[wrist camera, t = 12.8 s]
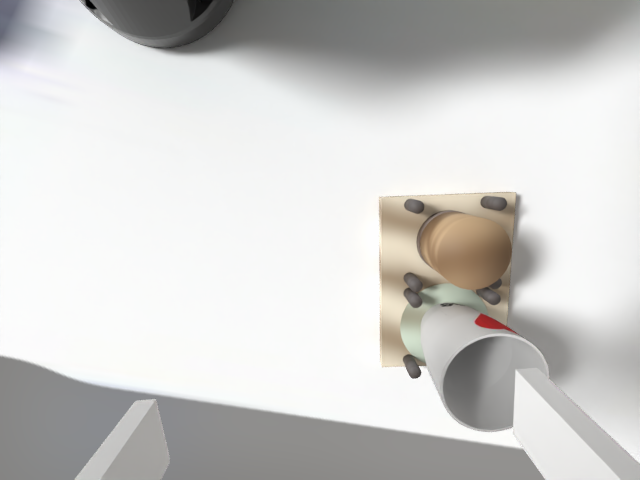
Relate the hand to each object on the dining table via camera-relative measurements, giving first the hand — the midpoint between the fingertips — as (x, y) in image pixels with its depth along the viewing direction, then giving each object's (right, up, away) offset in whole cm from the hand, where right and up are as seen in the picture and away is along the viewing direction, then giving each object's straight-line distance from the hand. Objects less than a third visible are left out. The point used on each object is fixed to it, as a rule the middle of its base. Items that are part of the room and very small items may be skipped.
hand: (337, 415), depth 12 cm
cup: (+12, -2, +22) cm, 26 cm away
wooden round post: (+12, +6, +21) cm, 25 cm away
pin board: (+12, +2, +23) cm, 26 cm away
